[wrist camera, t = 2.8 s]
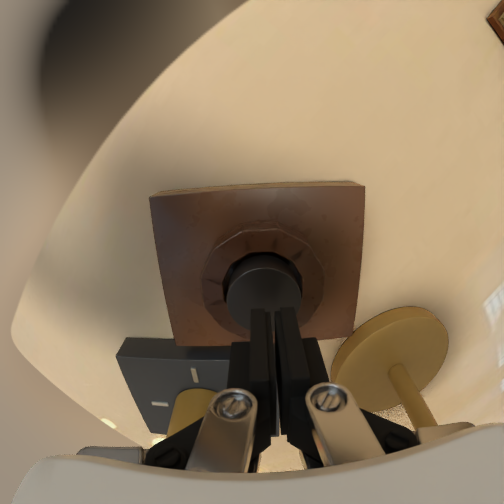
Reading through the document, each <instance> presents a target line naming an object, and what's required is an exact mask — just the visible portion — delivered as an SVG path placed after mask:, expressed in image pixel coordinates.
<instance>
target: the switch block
mask: <svg viewBox="0 0 504 504" xmlns="http://www.w3.org/2000/svg"><path fill="white" fill-rule="evenodd" d="M149 201H150V209H151V217H152V224H153V231H154V238H155V244H156V250H157V257H158V262H159V268H160V274H161V279H162V284H163V289H164V294H165V299H166V304H167V309H168V313H169V318H170V322H171V327H172V331H173V335H174V340H175V344H176V346H231V343H232V342H242V341H250V330H247V329H245V328H243V327H242V326H240V325H239V324H238V323H236V322H235V321H234V319H233V318H232V317H231V315H230V313H229V311H228V308H227V292H228V286H229V280H230V276H231V274H232V272H233V270H234V269H235V268H236V266H237V265H238V264H240V263H241V262H242V261H244V260H245V259H247V258H250V257H252V256H257V255H270V256H274V257H277V258H279V259H281V260H283V261H284V262H286V263H287V264H288V265H289V266H290V268H291V269H292V270H293V272H294V274H295V277H296V280H297V283H298V286H299V289H300V292H301V305H300V309H299V311H298V313H297V315H296V317H297V321H298V325H299V330H300V334H301V338H311V337H316V339H317V340H324V339H334V338H342V337H351V336H352V334H353V327H354V321H355V313H356V306H357V298H358V290H359V280H360V270H361V259H362V246H363V231H364V210H365V186H363V185H360V184H357V183H354V182H290V183H264V184H244V185H228V186H214V187H202V188H190V189H180V190H170V191H161V192H159V193H157V194H154V195H152V196H150V197H149ZM272 335H273V344H275V331H272Z"/></svg>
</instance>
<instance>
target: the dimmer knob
mask: <svg viewBox="0 0 504 504" xmlns="http://www.w3.org/2000/svg"><path fill="white" fill-rule="evenodd" d="M215 394H217V392H214V391H211V390H207V389H200V388H194V389H188V390H185V391H183V392H181V393H180V394H179V395H178V396H177V398H176V400H175V404H174V408H173V412H172V416H171V420H170V424H169V428H168V432H167V436H166V438H168V437H170V436H171V435H173V434H175V433H177V432H178V431H180V430H182V429H184V428H185V427H187V426H189V425H190V424H192V423H194V422H195V421H197V420H198V419H200V418H202V417H203V416H205V414H206V411H207V408H208V405H209V403H210V401H211V399H212V397H213V396H214V395H215Z"/></svg>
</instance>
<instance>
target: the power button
mask: <svg viewBox="0 0 504 504" xmlns="http://www.w3.org/2000/svg"><path fill="white" fill-rule="evenodd" d="M300 305H301V292H300V289H299V286H298V283H297V280H296V277H295V274H294V272H293V270H292V269H291V268H290V266H289V265H288V264H287V263H286V262H284V261H283V260H281V259H279V258H277V257H274V256H270V255H257V256H252V257H250V258H247V259H245V260H244V261H242V262H241V263H240V264H238V265H237V266H236V268H235V269H234V270H233V272H232V274H231V276H230V280H229V286H228V292H227V308H228V311H229V313H230V315H231V317H232V318H233V319H234V321H235V322H236V323H238V324H239V325H240V326H242V327H243V328H245V329H247V330H250V314H251V309H253V308H265V312H267V311H270V315H271V325H272V331H275V315H274V312H275V311H280V307H291V306H294V309H295V313H296V315H297V313H298V311H299V309H300Z"/></svg>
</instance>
